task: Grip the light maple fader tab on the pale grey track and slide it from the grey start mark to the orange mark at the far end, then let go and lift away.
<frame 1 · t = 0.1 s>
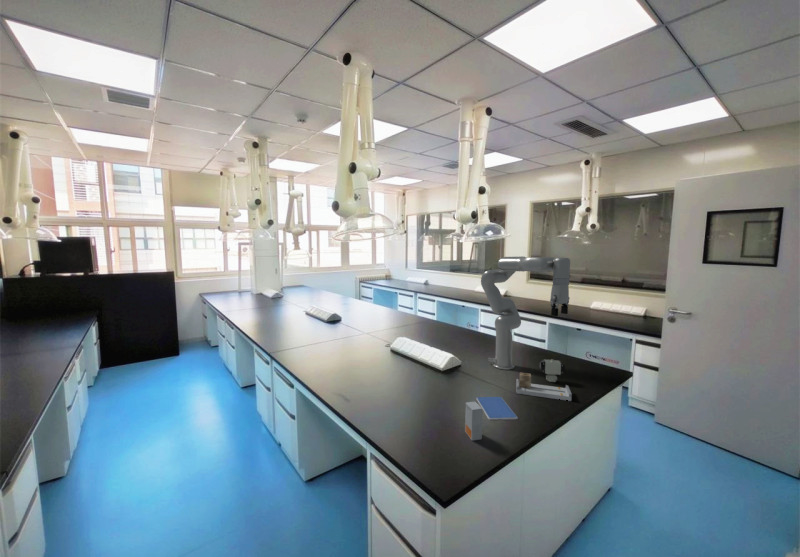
hand: (559, 314, 163), 37 cm above the worktop, tool pointing down, fingers open, 9 cm apart
fader tab: (525, 380, 158), point 5 cm above the worktop, slide at 0.0 cm
pneumatic valve: (551, 381, 171), on the worktop
tablet computer: (495, 409, 140), on the worktop
fader track: (542, 392, 156), on the worktop
skincare box: (473, 436, 119), on the worktop
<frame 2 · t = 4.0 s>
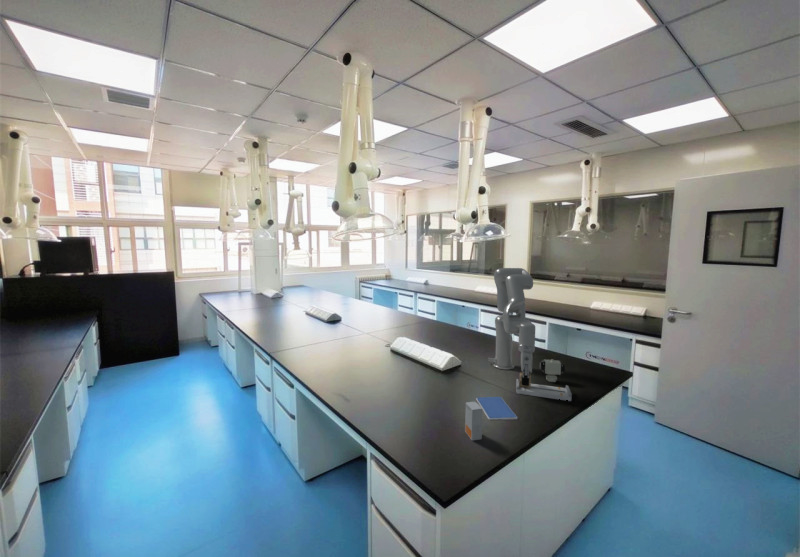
hand: (525, 383, 158), 4 cm above the worktop, tool pointing down, fingers closed on fader tab, 3 cm apart
fader tab: (525, 380, 158), point 5 cm above the worktop, slide at 0.0 cm, touching gripper
everything else where it was.
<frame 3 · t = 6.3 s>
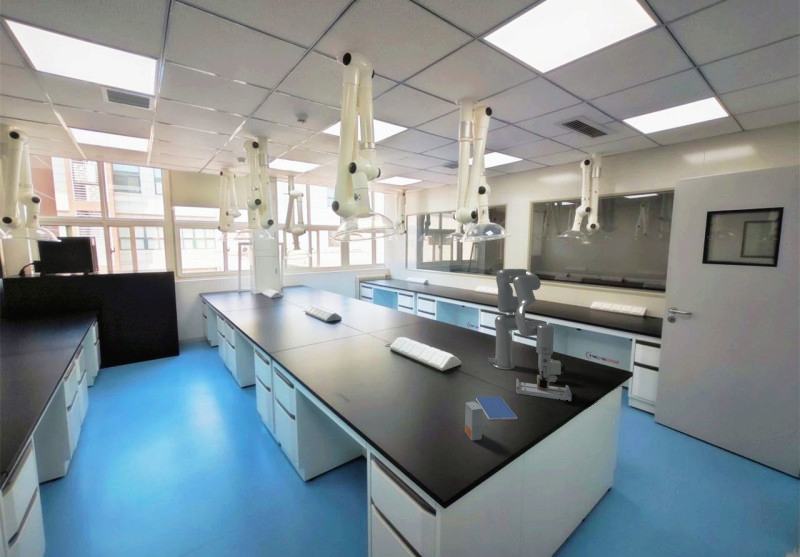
hand: (542, 385, 155), 4 cm above the worktop, tool pointing down, fingers closed on fader tab, 3 cm apart
fader tab: (543, 382, 155), point 5 cm above the worktop, slide at 8.2 cm, touching gripper
everything else where it was.
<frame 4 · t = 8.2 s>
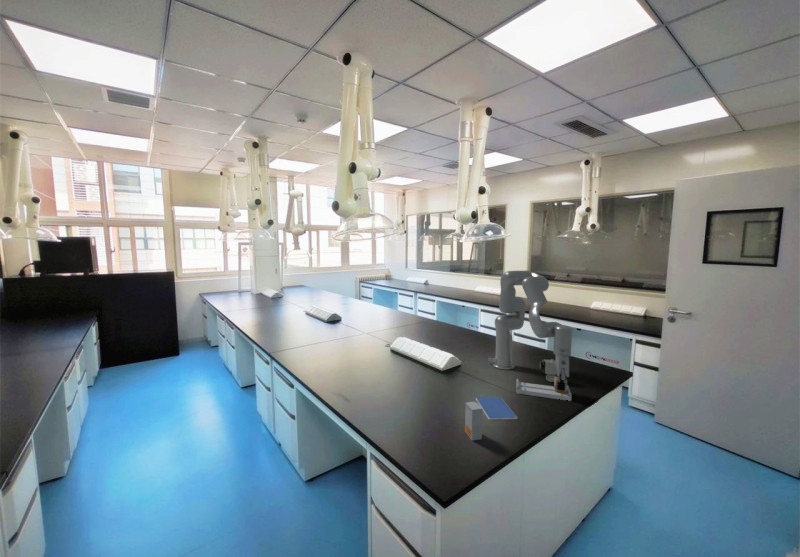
hand: (560, 387, 153), 4 cm above the worktop, tool pointing down, fingers closed on fader tab, 3 cm apart
fader tab: (560, 384, 153), point 5 cm above the worktop, slide at 15.9 cm, touching gripper
everything else where it was.
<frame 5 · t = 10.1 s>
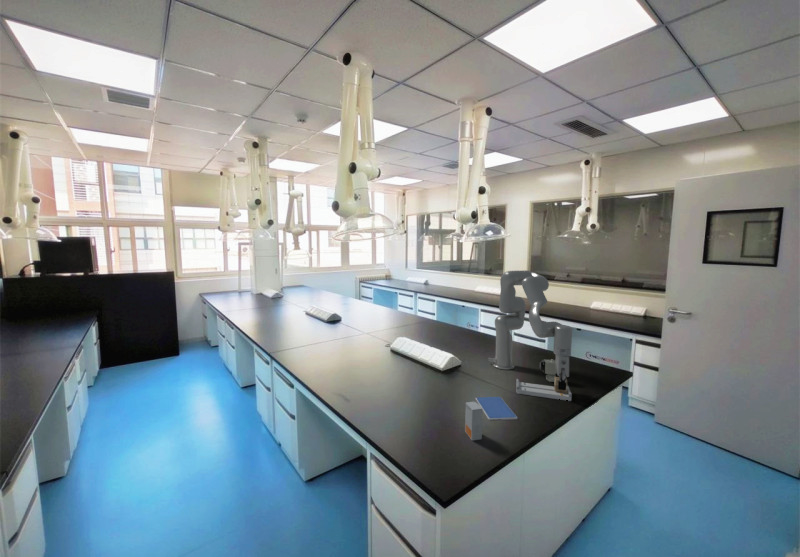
hand: (560, 385, 153), 5 cm above the worktop, tool pointing down, fingers open, 9 cm apart
fader tab: (560, 384, 153), point 5 cm above the worktop, slide at 16.0 cm
everything else where it was.
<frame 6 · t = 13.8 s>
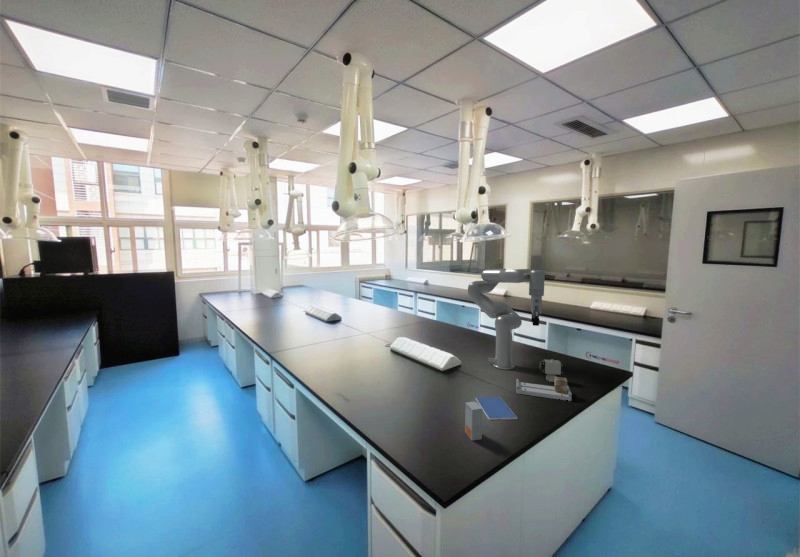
hand: (535, 323, 173), 30 cm above the worktop, tool pointing down, fingers open, 9 cm apart
nothing on the worktop moved.
at the end: fader tab slide at 16.0 cm; the gripper is holding nothing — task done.
